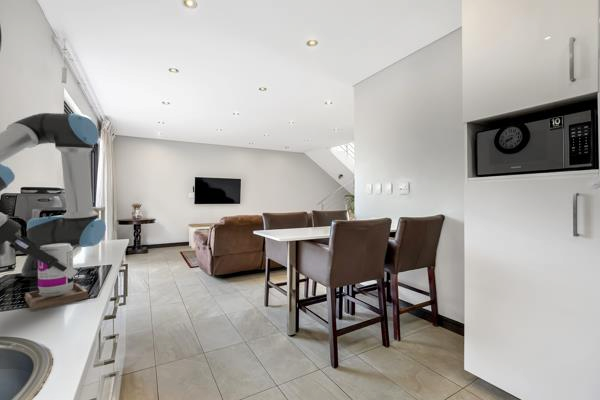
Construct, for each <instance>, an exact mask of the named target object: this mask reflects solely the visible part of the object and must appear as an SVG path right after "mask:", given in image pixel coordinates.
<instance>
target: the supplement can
mask: <svg viewBox="0 0 600 400" xmlns="http://www.w3.org/2000/svg"><path fill="white" fill-rule="evenodd" d="M40 249H41V250H42V251H44V252H46V253H47V254H49V255H51V256H52V257H54V258H57V259H58V260H60V261H62V262H63V263H65V264H67V265H68V266H70V267H72V268H73V269H74V247H72V246H71V245H70V243H56V244H48V245H43V246H41V247H40ZM50 261H51V260H50ZM50 261H49V262H50ZM49 262H48V263H49ZM47 267H48V266H47V265H46V264H44V263H43V262H41V261H39V260H38V277H37V291H38V294H39V295H41V296H43V297H51V296H58V295H62V294H65V293H68V292H70V291H71V289H73V283H74V276H73V277H72V278H71V279H70V278H68V277H66V276H65V275H63V274H61V273H59V272H58V271H56V270H54V269H52V268H50V269H47Z"/></svg>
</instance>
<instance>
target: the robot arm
mask: <svg viewBox="0 0 600 400" xmlns="http://www.w3.org/2000/svg"><path fill="white" fill-rule="evenodd" d="M99 139H100V135H99V129H98V127H97V125H96V124H95V122H94V120H92V118H90V117H89V116H87V115H85V114H79V113H54V112H53V113H50V112H42V113H41V112H40V113H37V114H32V115H30V116H27V117H23V118H21V119H19V120H16V121H15V122H13V123H10V124H8V125H7V127H6V130H3V131H1V132H0V192H2V191H3V190H5V189H7V187H8V186H9V185H10V184H12V182H14V180H15V173H14V172H13V170H12V169H11V167H9V166H7V165H6V164H4V163H3V162H4V161H6V160H7V159H10V158H11V157H13V156H14V155H16V154H18V153H20V152H22V151H24V150H25V149H27V148H28V149H29V148H30V149H31V148H35V147H37V146H38V145H43V144H54V146H55V149H56V150H58V151H59V152H60V155H61V164H62V165H61V167H62V177H63V185H64V186H63V187H64V197H65V208H66V212H65V213H64V214H63V215H62V214H61V215H53V216H44V217H36V218H35V217H34V218H30V219H29V220H28V221H27V224H26V229H25V230H26V236H25V235H23V234H21V235H18V234H17V233H18V232H20V230H21V229H22V225H21V224H19V222H17V221H15V220H13V219H12V218H7V215H6V214H4V213H3V212H1V211H0V246H1V245H3V244H4V243H5V242H7V243H10V244H8V246H9V247H10V248H12V249H13V250H15V251H18V252H21V253H22V254H24V255H26V259H25V261H24V263H23V266H22V268H21V276H22V277H25V278H38V260H39V261H41V262H43V263H44V264H46V265H47V266H48V267H47V269H50V268H52V269H54V270H56V271H58V272H59V273H61V274H63V275H65V276H66V277H68V278H70V279H71V278H72V277H73V278H74V276H75V275H76V274H77V273H79V271H78V270H77V269H75V268H74V267H73V268H72V267H70V266H68V265H67V264H65V263H63V262H62V261H60V260H58V259H57V258H54V257H52V256H51V255H49V254H47V253H46V252H44V251H42V250H41V249H40V247H41V246H43V245H48V244H56V243H70V245H71V246H72V248H86V247H94V246H95V247H96V246H97V245H98V244H100V243H101V242H102V241H103V238H104V236H105V234H106V229H107V226H106V223H105V221H104V219H102V218H99V214H98V212H97V211H95V210H94V205H93V193H92V181H91V170H90V169H91V167H90V158H89V157H90V156H89V153H90V152H92V151H93V145H94V146H95V145H96V144H97V143H98V141H99ZM50 260H51V261H50ZM49 261H50V262H49ZM48 262H49V263H48Z"/></svg>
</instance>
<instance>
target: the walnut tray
mask: <svg viewBox="0 0 600 400" xmlns="http://www.w3.org/2000/svg"><path fill="white" fill-rule="evenodd" d="M88 293H89V292H88V290H87V289H85V288H84V287H83V286H82V285H80V284H79V283H77V282H73V289H71V291H70V292H68V293H65V294H62V295H58V296H51V297H43V296H41V295H39V294H38V290H33V291H30V292H25V293H24V300H25V302H26V304H27V305H28V306H29V308H30V309H31V311H32V312H36V311H40V310H41V311H42V310H45V309H49V308H51V307H57V306H60V305H64V304H69V303H72V302H78V301H80V300H85V299H88V298H89V297H88V296H89V295H88Z"/></svg>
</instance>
